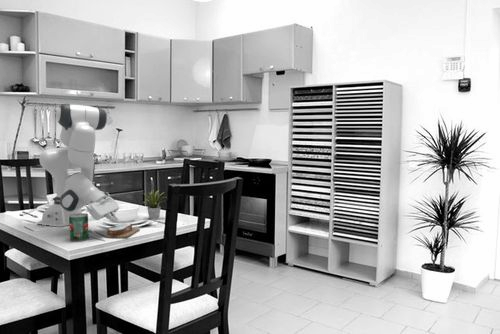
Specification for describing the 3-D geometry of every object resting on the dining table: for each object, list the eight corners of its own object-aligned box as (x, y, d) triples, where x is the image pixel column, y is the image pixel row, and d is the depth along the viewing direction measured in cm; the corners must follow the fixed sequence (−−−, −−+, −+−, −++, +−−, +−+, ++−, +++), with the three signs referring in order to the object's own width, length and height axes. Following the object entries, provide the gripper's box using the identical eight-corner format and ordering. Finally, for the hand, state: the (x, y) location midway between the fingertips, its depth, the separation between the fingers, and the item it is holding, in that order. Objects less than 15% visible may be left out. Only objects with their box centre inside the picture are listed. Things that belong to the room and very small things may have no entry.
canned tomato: (92, 239, 194) (91, 215, 193) (74, 242, 188) (73, 217, 187) (84, 236, 200) (83, 212, 199) (67, 239, 194) (65, 215, 193)
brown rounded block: (103, 235, 196) (121, 237, 195) (103, 228, 196) (121, 230, 195) (118, 227, 211) (135, 229, 210) (118, 221, 211) (135, 223, 210)
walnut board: (107, 238, 196) (107, 235, 196) (121, 230, 211) (121, 228, 211) (126, 238, 195) (126, 236, 195) (139, 230, 210) (139, 228, 209)
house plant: (147, 223, 226) (146, 191, 224) (134, 218, 236) (133, 189, 234) (171, 218, 235) (170, 188, 234) (157, 215, 245) (156, 186, 244)
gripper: (88, 199, 192) (110, 221, 192) (109, 192, 212) (129, 212, 212) (79, 208, 193) (101, 231, 193) (101, 200, 213) (120, 221, 213)
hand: (116, 221), depth 203 cm, fingers closed
